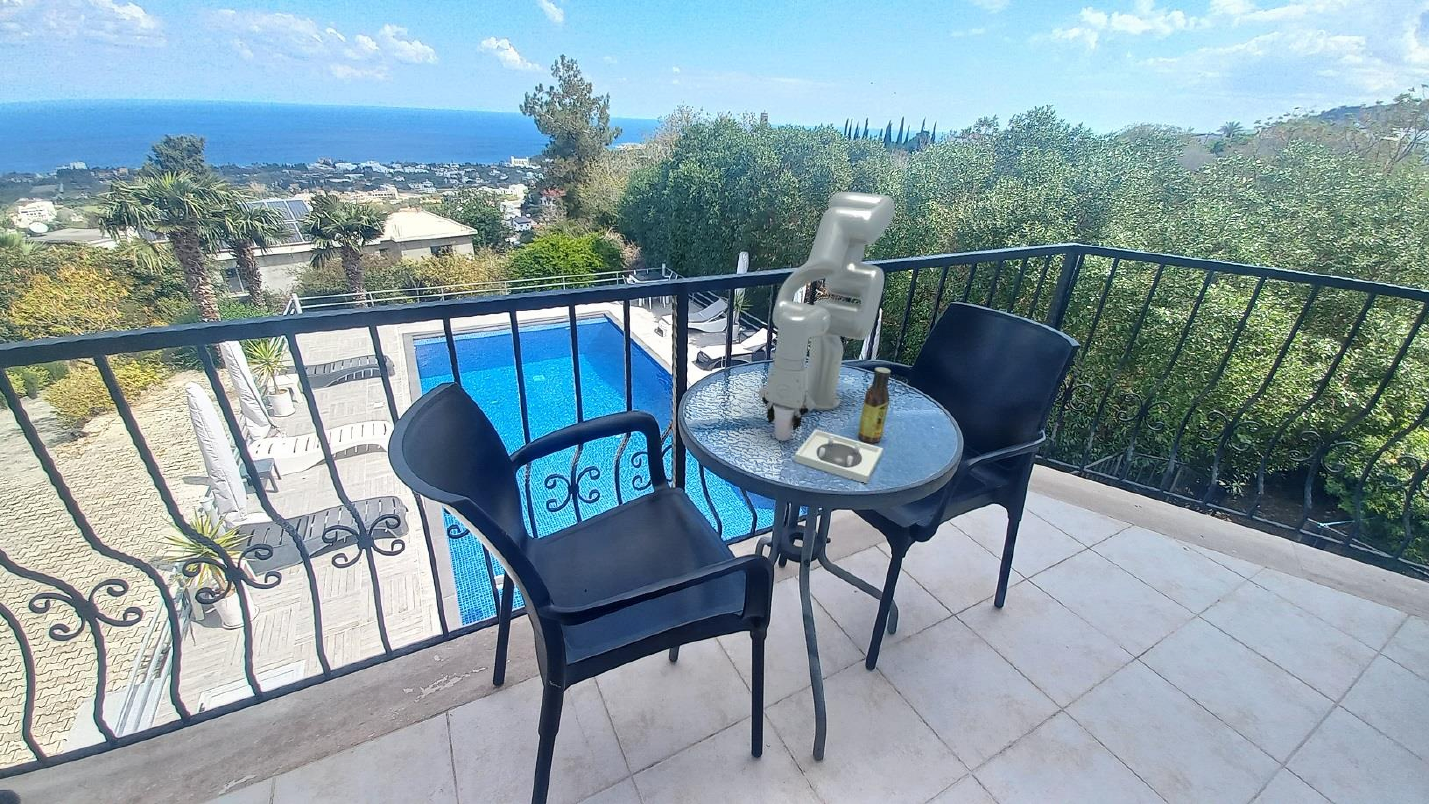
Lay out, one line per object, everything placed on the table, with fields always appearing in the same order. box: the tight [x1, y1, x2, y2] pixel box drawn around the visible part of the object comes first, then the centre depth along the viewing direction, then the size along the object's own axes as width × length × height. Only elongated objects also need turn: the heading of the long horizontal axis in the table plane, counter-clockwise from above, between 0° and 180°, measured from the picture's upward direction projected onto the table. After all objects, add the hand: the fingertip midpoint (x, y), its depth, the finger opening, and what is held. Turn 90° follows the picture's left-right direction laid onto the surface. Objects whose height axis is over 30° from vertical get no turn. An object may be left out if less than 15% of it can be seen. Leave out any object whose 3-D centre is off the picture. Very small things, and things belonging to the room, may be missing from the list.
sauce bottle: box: [857, 366, 892, 444], centre depth 141 cm, size 7×6×20 cm
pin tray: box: [793, 428, 884, 484], centre depth 134 cm, size 15×18×4 cm
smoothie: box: [773, 403, 796, 442], centre depth 140 cm, size 6×6×14 cm
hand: (783, 424), depth 141 cm, fingers closed on smoothie, 6 cm apart
